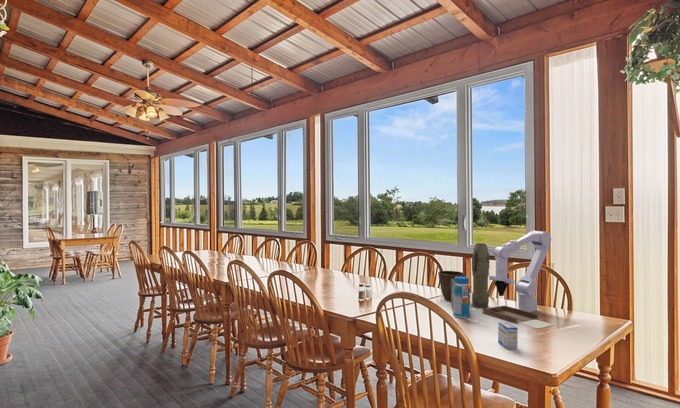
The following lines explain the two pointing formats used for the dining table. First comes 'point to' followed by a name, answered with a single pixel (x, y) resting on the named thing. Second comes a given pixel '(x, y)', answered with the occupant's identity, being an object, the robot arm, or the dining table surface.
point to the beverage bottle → (461, 297)
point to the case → (510, 314)
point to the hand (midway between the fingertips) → (501, 295)
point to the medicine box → (507, 335)
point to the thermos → (480, 276)
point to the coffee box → (452, 291)
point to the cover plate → (536, 323)
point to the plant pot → (447, 282)
